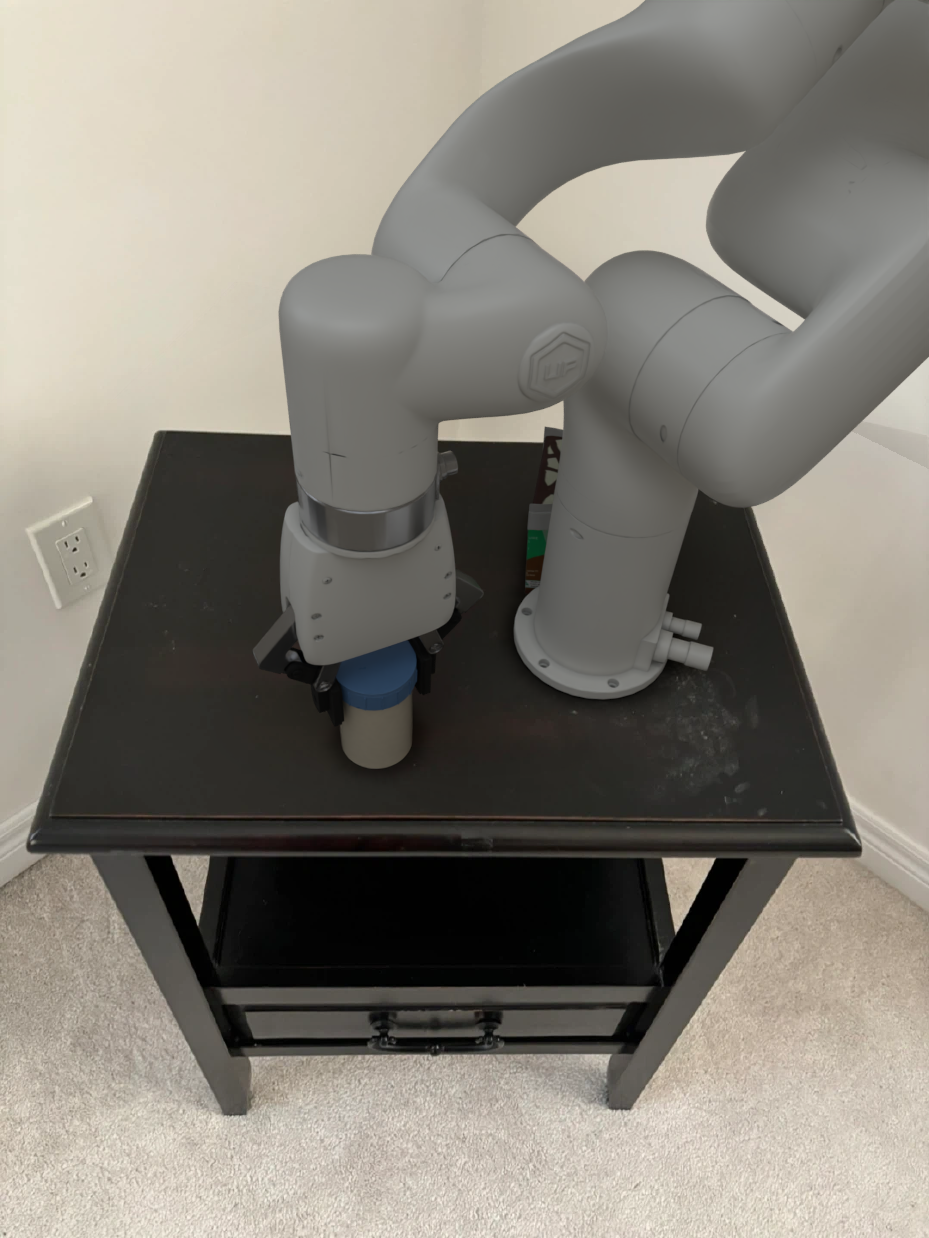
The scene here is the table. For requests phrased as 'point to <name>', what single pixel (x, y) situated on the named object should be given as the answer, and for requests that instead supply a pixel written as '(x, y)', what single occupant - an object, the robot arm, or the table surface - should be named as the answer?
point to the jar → (377, 734)
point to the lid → (379, 677)
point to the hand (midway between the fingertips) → (374, 692)
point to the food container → (542, 507)
